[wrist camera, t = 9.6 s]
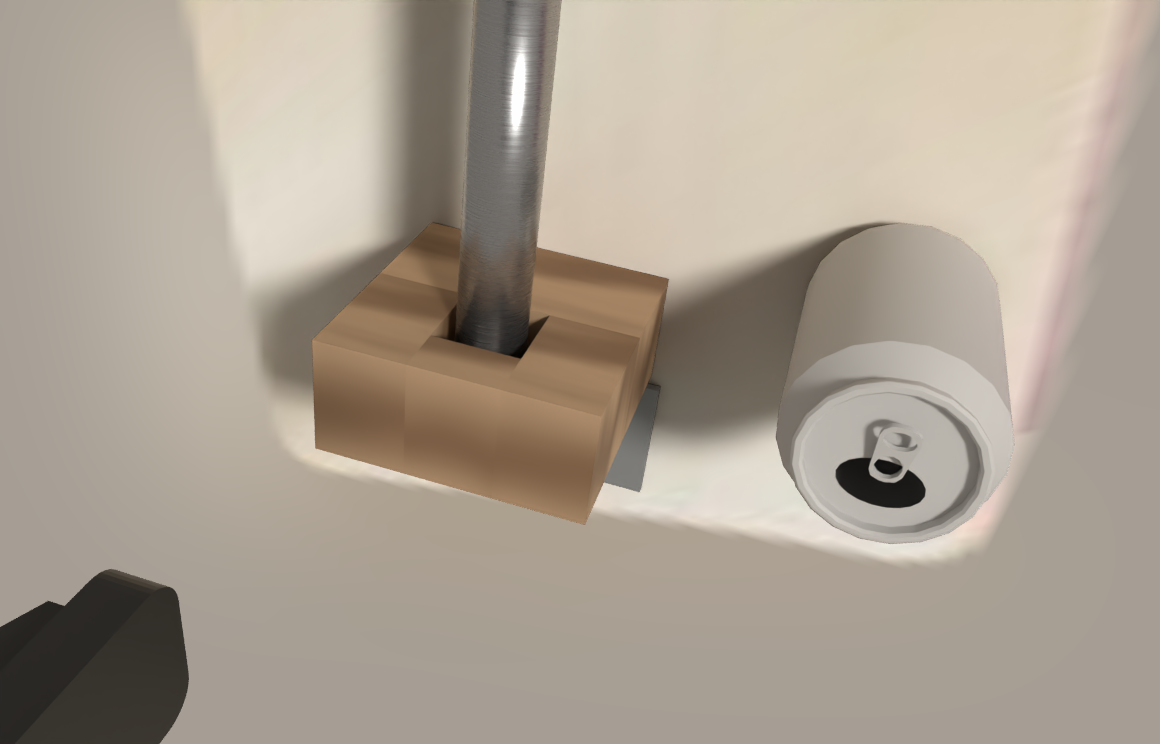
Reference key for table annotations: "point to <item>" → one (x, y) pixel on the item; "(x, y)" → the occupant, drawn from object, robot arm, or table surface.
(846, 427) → the can
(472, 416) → the bearing block
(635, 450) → the mat
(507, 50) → the shaft
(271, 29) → the table surface
